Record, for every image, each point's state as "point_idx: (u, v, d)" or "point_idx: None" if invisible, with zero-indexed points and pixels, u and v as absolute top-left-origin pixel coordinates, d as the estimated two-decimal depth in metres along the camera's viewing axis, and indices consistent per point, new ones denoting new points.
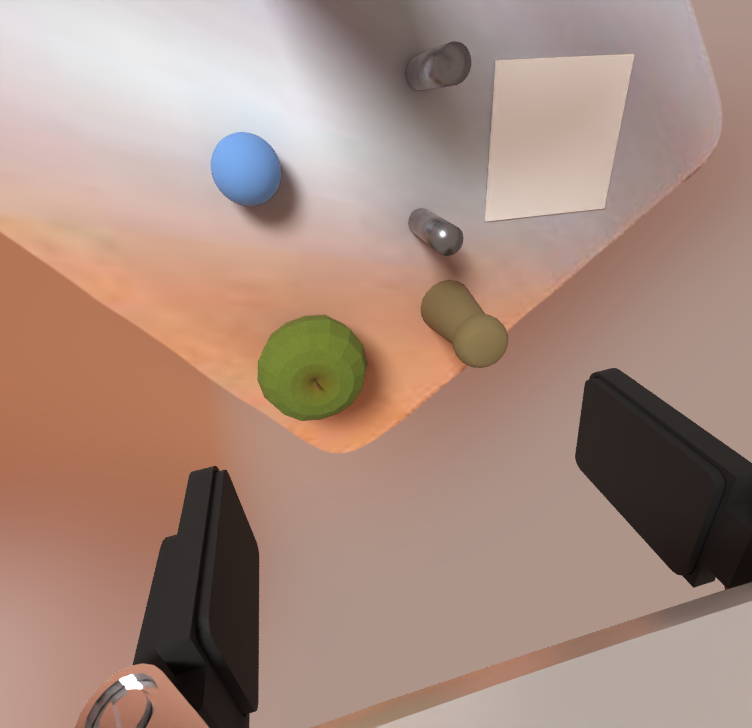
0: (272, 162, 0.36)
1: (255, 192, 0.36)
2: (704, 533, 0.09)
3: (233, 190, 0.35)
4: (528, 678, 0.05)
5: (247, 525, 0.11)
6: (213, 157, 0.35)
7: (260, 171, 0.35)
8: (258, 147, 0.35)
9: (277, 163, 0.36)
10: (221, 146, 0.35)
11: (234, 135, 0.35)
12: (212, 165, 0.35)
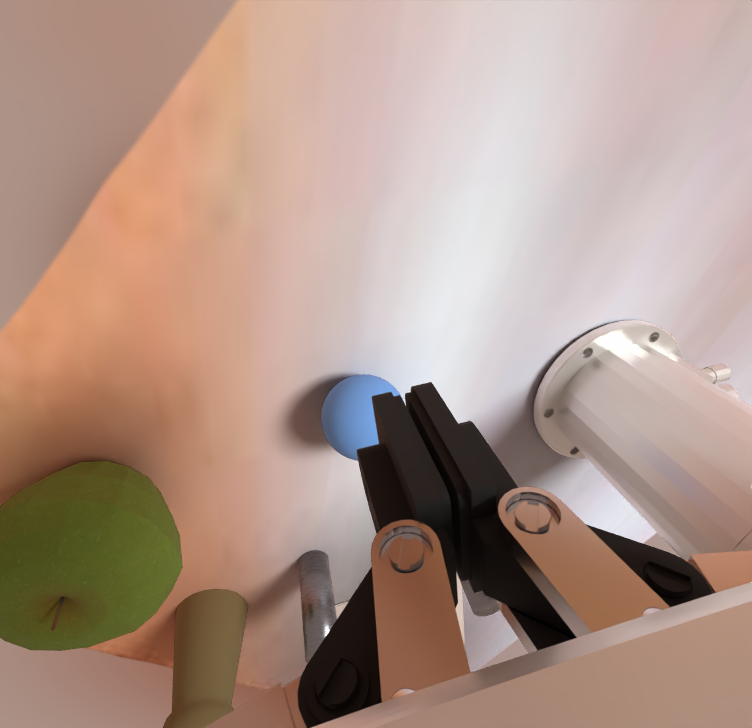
0: None
1: (349, 450, 0.27)
2: (466, 542, 0.09)
3: (348, 427, 0.26)
4: (528, 678, 0.05)
5: None
6: (379, 390, 0.27)
7: None
8: None
9: None
10: None
11: None
12: (371, 391, 0.27)
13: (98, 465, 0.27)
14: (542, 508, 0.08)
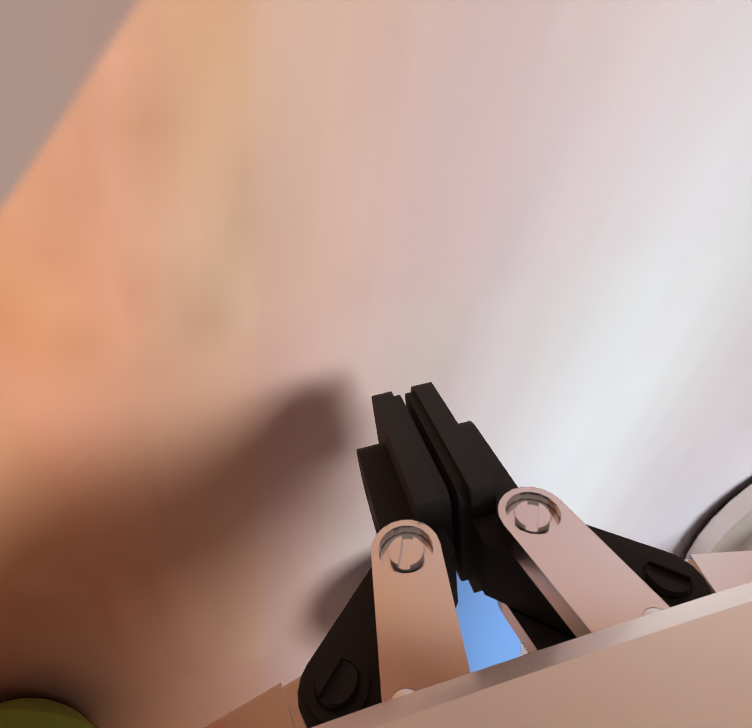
0: None
1: None
2: (466, 542, 0.09)
3: None
4: (528, 678, 0.05)
5: None
6: (482, 606, 0.15)
7: None
8: None
9: None
10: (508, 626, 0.16)
11: None
12: (469, 610, 0.15)
13: None
14: (542, 508, 0.08)
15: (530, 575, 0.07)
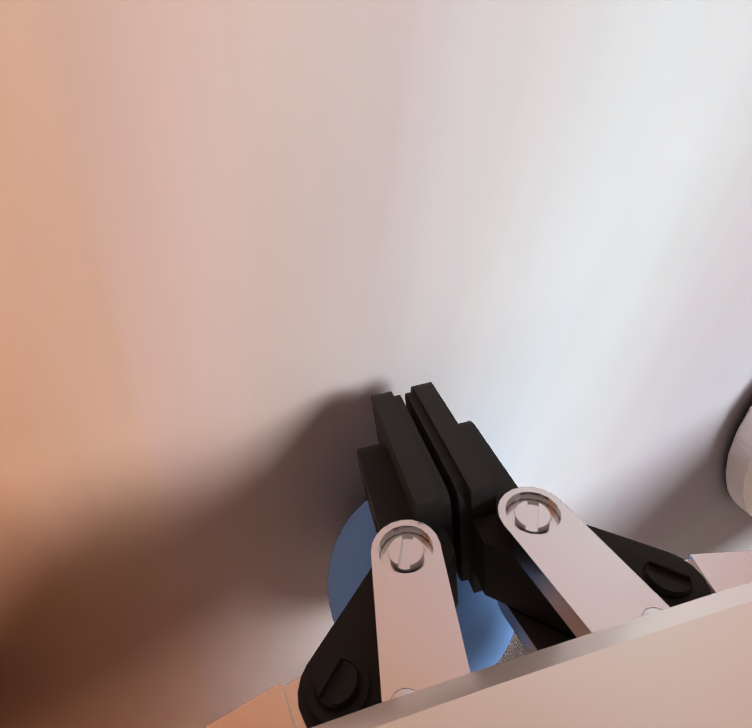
0: None
1: None
2: (466, 542, 0.09)
3: None
4: (528, 678, 0.05)
5: None
6: (485, 616, 0.11)
7: None
8: None
9: None
10: None
11: None
12: (466, 628, 0.11)
13: None
14: (542, 508, 0.08)
15: (530, 575, 0.07)
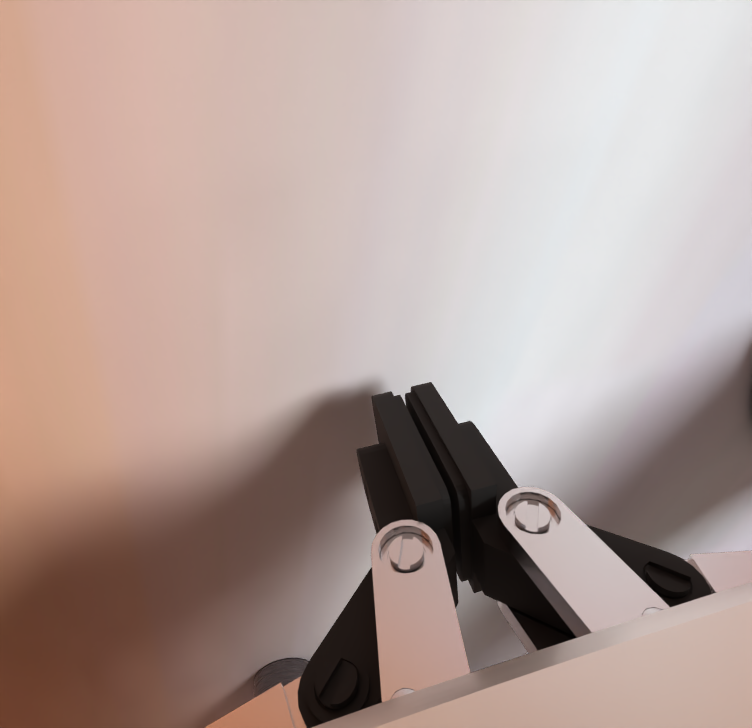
0: None
1: None
2: (466, 542, 0.09)
3: None
4: (528, 678, 0.04)
5: None
6: None
7: None
8: None
9: None
10: None
11: None
12: None
13: None
14: (542, 508, 0.08)
15: (530, 575, 0.07)
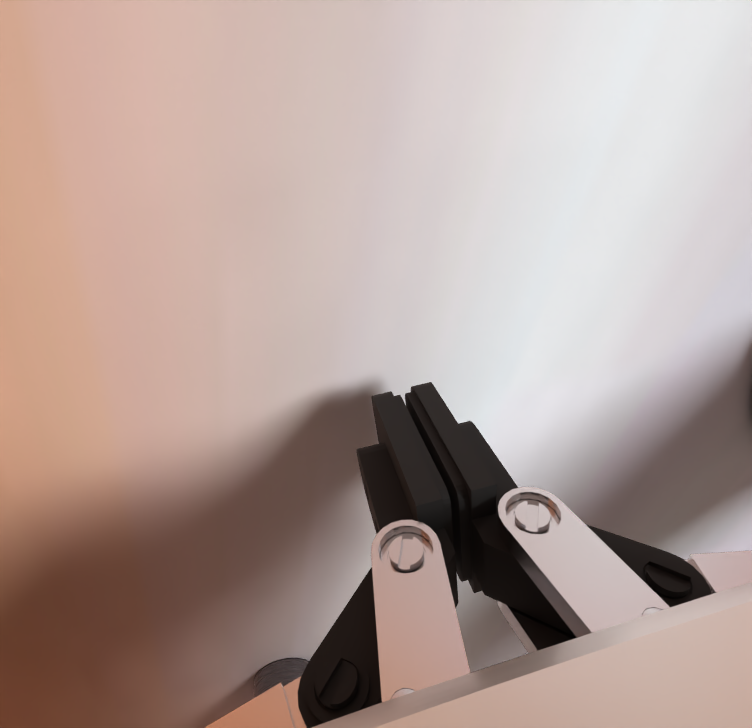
0: None
1: None
2: (466, 542, 0.09)
3: None
4: (528, 678, 0.04)
5: None
6: None
7: None
8: None
9: None
10: None
11: None
12: None
13: None
14: (542, 508, 0.08)
15: (530, 575, 0.07)
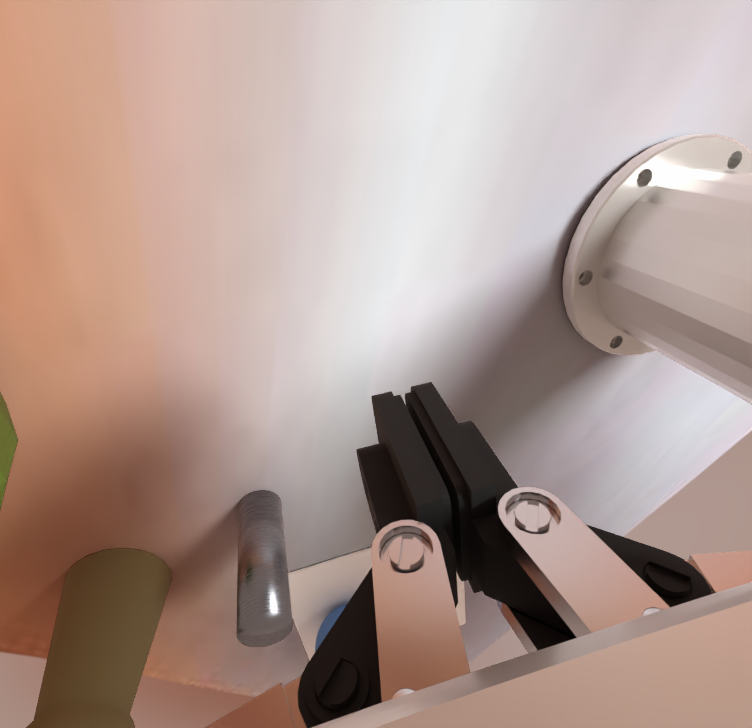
0: None
1: (330, 622, 0.32)
2: (466, 542, 0.09)
3: None
4: (528, 678, 0.05)
5: None
6: None
7: None
8: None
9: None
10: None
11: None
12: None
13: None
14: (542, 508, 0.08)
15: (530, 575, 0.07)
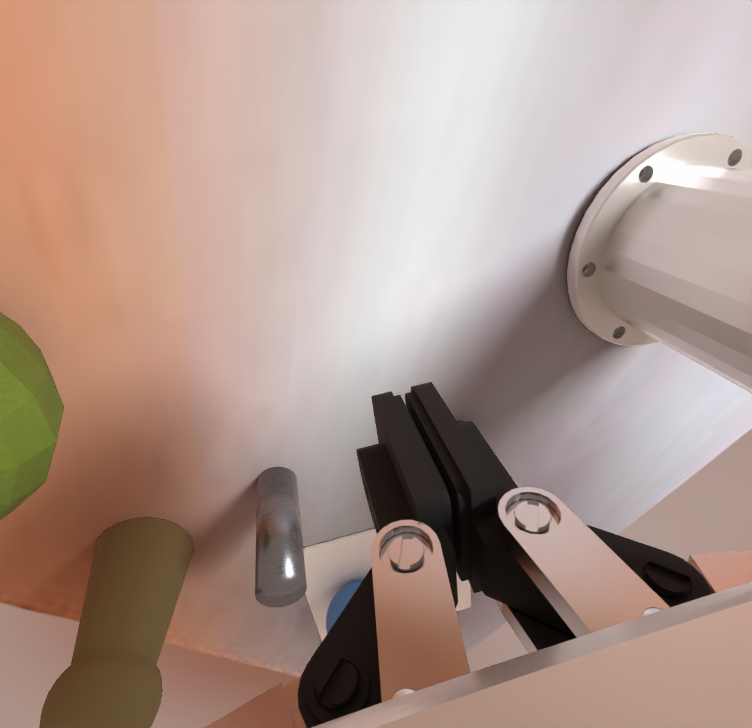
0: None
1: (340, 596, 0.34)
2: (466, 542, 0.09)
3: None
4: (528, 678, 0.05)
5: None
6: None
7: None
8: None
9: None
10: None
11: None
12: None
13: None
14: (542, 508, 0.08)
15: (530, 575, 0.07)
